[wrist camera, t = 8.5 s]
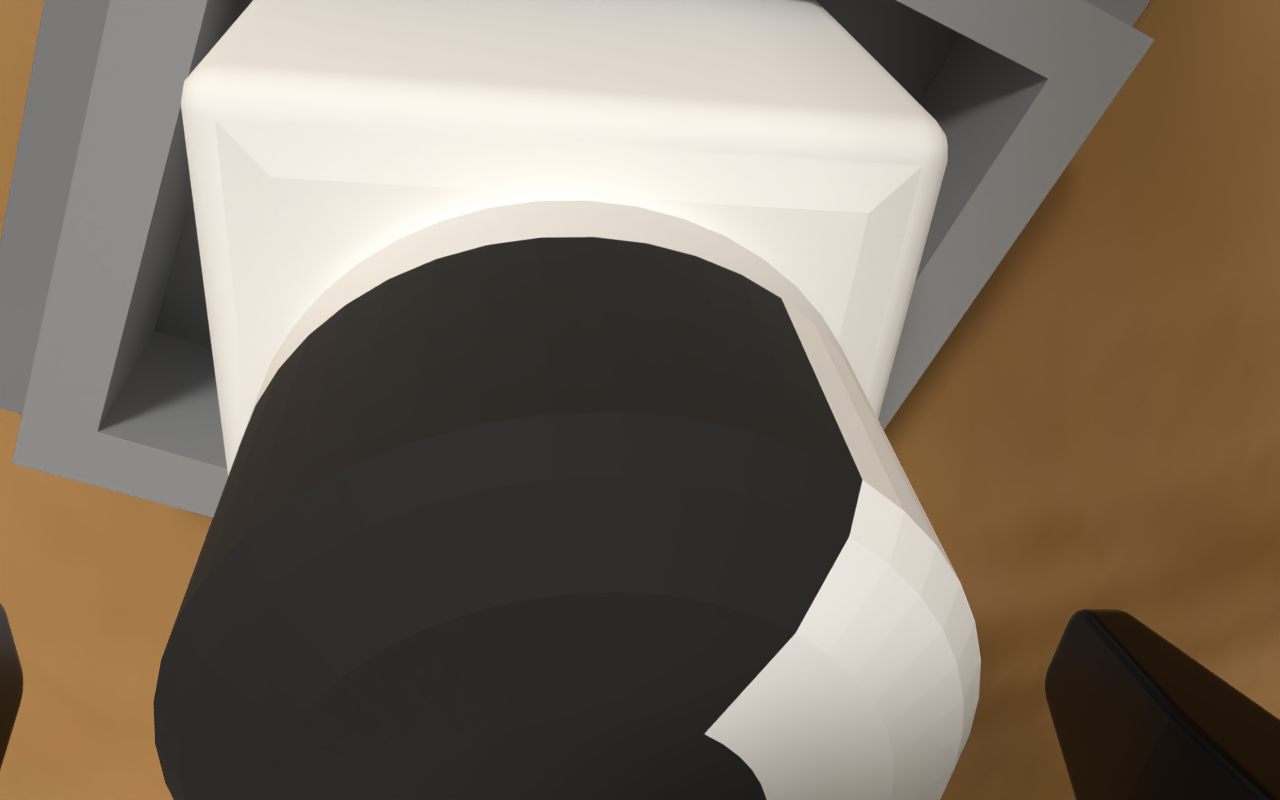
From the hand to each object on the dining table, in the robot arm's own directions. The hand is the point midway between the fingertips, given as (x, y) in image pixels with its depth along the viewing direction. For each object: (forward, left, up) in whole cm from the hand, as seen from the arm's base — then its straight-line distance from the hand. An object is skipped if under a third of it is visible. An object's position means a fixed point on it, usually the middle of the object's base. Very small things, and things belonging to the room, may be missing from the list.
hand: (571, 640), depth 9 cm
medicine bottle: (0, 0, -10) cm, 10 cm away
